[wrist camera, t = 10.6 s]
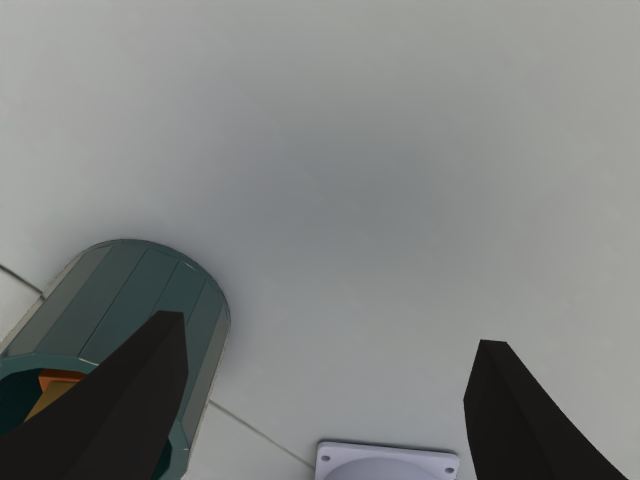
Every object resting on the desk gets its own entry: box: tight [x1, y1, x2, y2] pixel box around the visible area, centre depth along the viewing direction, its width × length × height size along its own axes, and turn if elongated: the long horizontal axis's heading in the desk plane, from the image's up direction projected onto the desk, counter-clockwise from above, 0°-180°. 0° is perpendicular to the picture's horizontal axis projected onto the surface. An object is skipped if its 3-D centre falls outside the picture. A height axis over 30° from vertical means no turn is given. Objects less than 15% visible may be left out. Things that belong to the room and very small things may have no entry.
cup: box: [0, 239, 230, 480], centre depth 23 cm, size 8×8×8 cm
